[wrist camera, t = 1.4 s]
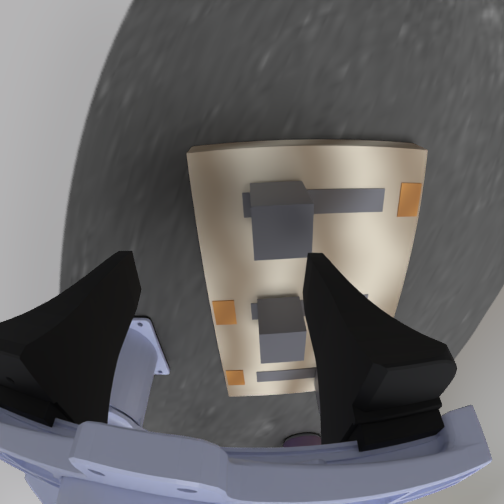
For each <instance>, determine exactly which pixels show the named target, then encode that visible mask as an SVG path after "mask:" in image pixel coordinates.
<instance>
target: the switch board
mask: <svg viewBox="0 0 504 504" xmlns="http://www.w3.org/2000/svg"><path fill="white" fill-rule="evenodd" d="M427 151H428V150H426V149H424V148H422V147H420V146H418V145H416V144H414V143H404V142H390V141H372V140H339V139H302V140H269V141H250V142H235V143H222V144H211V145H201V146H192V147H191V148H190V150H189V151H188V152H187V161H188V169H189V176H190V184H191V191H192V198H193V205H194V212H195V218H196V225H197V231H198V237H199V244H200V250H201V256H202V262H203V268H204V273H205V279H206V285H207V290H208V296H209V301H210V306H211V312H212V317H213V322H214V327H215V332H216V337H217V342H218V347H219V352H220V357H221V361H222V366H223V371H224V375H225V380H226V384H227V389H228V393H229V396H258V395H275V394H288V393H300V392H310V391H315V387H314V381H315V375H316V368H317V367H316V361H315V356H314V351H313V347H312V343H311V338H310V334H309V330H308V326H307V321H306V317H305V312H304V303H303V293H302V292H303V285H304V278H305V270H306V263H307V258H292V259H275V260H258V261H254V250H253V235H252V219H251V202H250V183H263V182H283V181H302V182H303V184H304V186H305V188H306V189H307V191H308V193H309V195H310V197H311V199H312V201H313V203H314V218H313V243H312V253H323V254H324V255H325V256H326V257H327V258H328V259H329V260H330V261H331V263H332V264H333V265H334V266H335V267H336V268H337V269H338V270H339V271H340V272H341V274H342V275H343V276H344V277H345V278H346V279H347V280H348V281H349V282H350V283H351V284H352V285H353V286H354V287H355V288H356V289H358V290H359V291H360V292H361V293H362V294H363V295H364V296H365V297H366V298H368V299H369V300H370V301H371V302H372V303H374V304H375V305H376V306H378V307H379V308H380V309H381V310H383V311H384V312H386V313H387V314H389V315H390V316H392V317H393V318H394V315H395V311H396V308H397V305H398V301H399V298H400V294H401V290H402V287H403V283H404V279H405V275H406V271H407V267H408V263H409V259H410V255H411V250H412V246H413V241H414V236H415V231H416V226H417V221H418V216H419V210H420V204H421V198H422V191H423V184H424V177H425V169H426V161H427ZM297 296H299V297H300V302H301V307H302V311H303V316H304V321H305V326H306V330H307V333H306V344H305V355H304V361H293V362H280V363H264V364H261V359H260V343H259V325H258V304H257V299H267V298H282V297H297Z"/></svg>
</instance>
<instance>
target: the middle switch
mask: <svg viewBox="0 0 504 504" xmlns="http://www.w3.org/2000/svg"><path fill="white" fill-rule="evenodd" d="M257 304H258V325H259V343H260V359H261V364H264V363H280V362H293V361H304V355H305V344H306V333H307V330H306V326H305V321H304V316H303V311H302V307H301V302H300V297H299V296H297V297H282V298H267V299H257Z"/></svg>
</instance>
